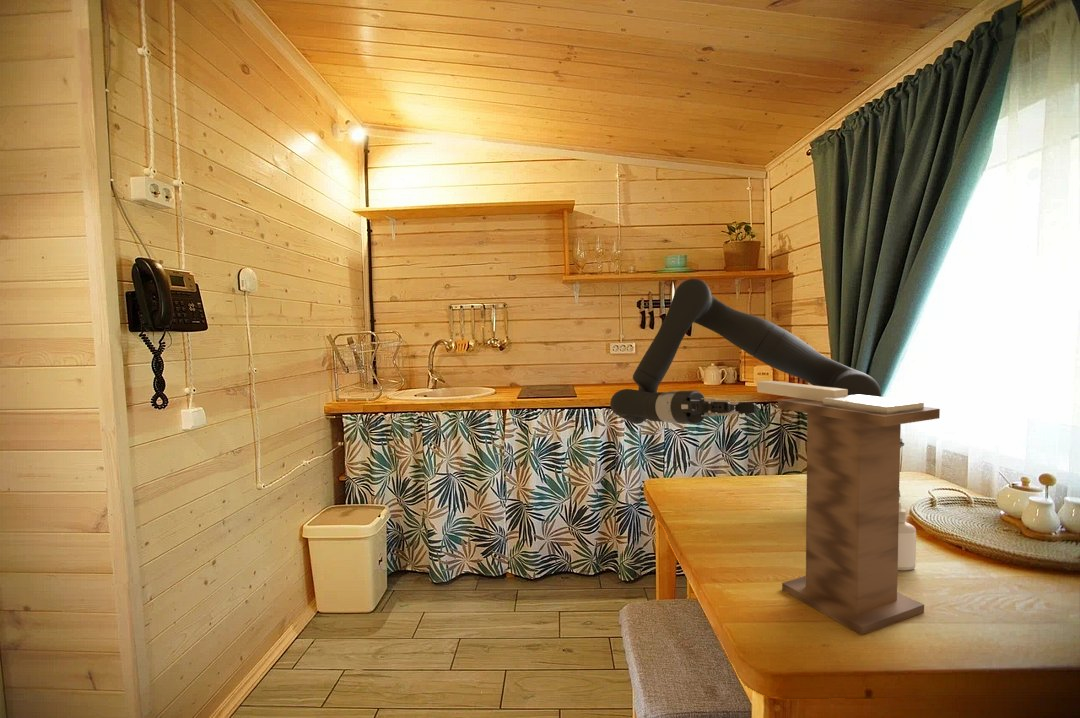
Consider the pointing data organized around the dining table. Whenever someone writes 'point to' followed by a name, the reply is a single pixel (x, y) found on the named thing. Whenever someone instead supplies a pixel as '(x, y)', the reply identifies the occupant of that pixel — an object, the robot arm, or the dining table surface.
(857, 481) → the shelf stand
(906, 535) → the eye dropper bottle
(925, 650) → the dining table surface
